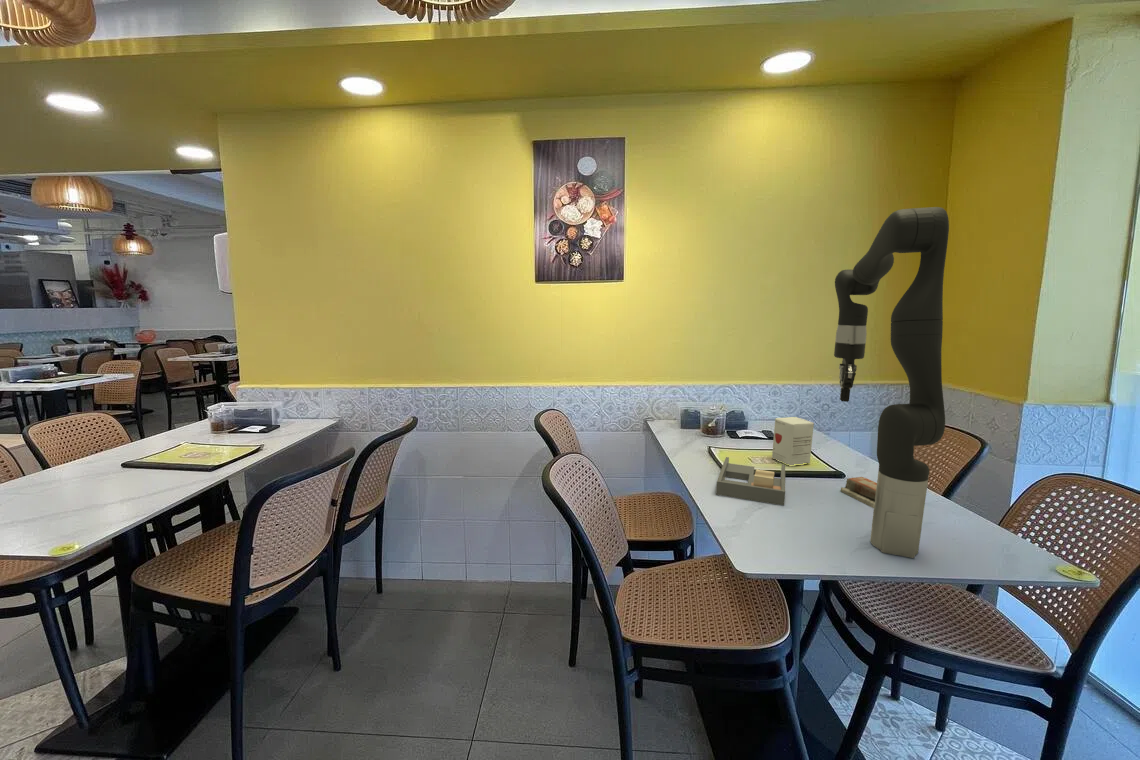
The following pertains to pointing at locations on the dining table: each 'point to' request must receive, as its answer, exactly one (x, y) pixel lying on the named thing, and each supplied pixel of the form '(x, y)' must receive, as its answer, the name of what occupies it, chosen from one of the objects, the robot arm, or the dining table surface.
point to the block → (764, 478)
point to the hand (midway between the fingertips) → (844, 401)
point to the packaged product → (861, 490)
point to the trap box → (749, 485)
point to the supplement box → (792, 440)
